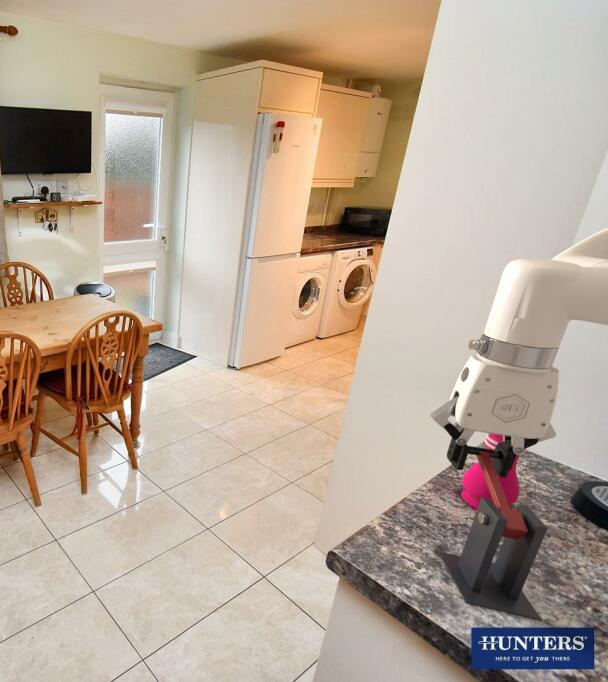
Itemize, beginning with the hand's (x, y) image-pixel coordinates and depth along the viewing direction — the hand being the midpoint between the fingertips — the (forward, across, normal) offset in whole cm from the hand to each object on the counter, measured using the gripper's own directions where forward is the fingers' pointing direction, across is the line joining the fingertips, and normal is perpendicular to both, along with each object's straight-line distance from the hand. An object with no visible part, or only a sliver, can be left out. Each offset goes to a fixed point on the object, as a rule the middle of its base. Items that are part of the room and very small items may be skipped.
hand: (476, 467), depth 65 cm
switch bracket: (+13, 0, -10) cm, 16 cm away
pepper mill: (+13, +8, +10) cm, 18 cm away
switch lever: (+1, 0, -5) cm, 5 cm away
